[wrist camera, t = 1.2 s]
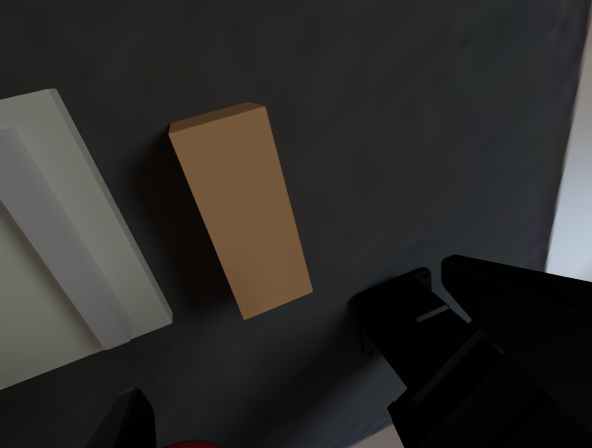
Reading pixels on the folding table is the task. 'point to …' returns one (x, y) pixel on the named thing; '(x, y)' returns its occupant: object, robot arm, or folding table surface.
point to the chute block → (244, 204)
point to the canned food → (194, 445)
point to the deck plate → (63, 248)
